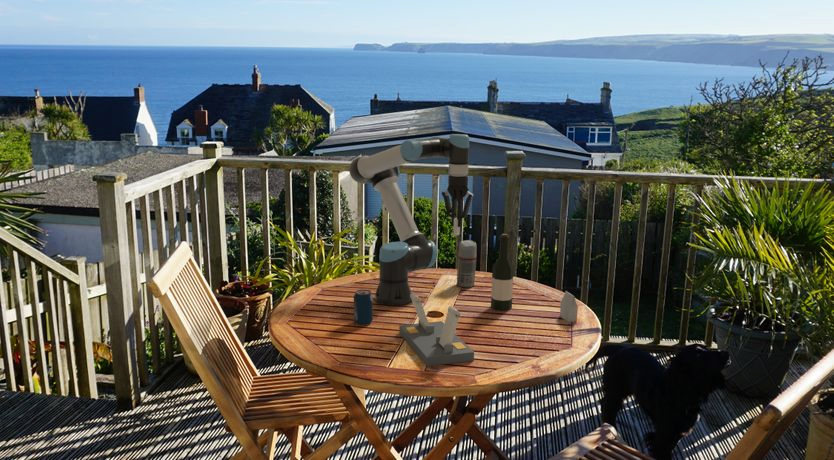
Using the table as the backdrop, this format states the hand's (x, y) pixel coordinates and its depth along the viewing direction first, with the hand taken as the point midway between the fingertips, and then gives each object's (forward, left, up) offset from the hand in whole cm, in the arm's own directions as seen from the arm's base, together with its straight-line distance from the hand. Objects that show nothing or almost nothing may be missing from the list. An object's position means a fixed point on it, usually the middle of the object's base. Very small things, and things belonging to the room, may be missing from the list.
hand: (456, 234), depth 266 cm
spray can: (-7, +29, -30) cm, 42 cm away
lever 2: (+17, -48, -26) cm, 58 cm away
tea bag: (+44, +8, -30) cm, 54 cm away
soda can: (-22, -34, -30) cm, 50 cm away
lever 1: (+5, -36, -26) cm, 44 cm away
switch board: (+11, -42, -29) cm, 52 cm away
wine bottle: (+17, +8, -30) cm, 35 cm away
